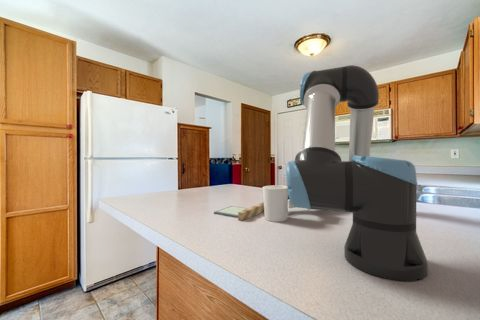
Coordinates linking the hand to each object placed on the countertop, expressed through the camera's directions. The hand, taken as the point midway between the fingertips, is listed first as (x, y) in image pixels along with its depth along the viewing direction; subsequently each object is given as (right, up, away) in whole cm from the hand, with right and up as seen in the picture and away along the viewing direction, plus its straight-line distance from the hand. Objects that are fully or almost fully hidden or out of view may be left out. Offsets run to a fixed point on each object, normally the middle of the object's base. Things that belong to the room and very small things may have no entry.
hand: (276, 201), depth 84 cm
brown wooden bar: (-8, -6, +6) cm, 12 cm away
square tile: (-16, -6, +10) cm, 19 cm away
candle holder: (0, -7, -1) cm, 7 cm away
